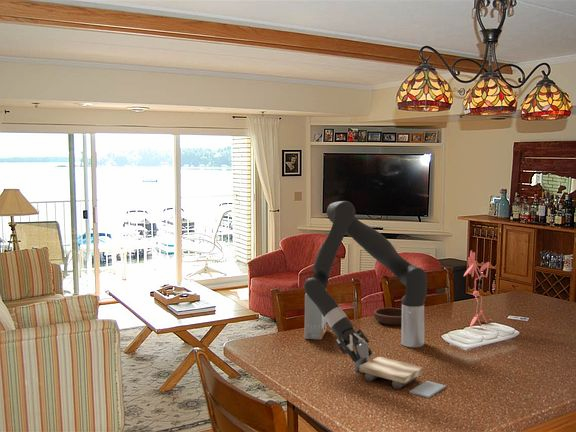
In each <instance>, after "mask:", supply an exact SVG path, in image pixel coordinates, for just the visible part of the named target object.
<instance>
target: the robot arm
mask: <svg viewBox="0 0 576 432" xmlns="http://www.w3.org/2000/svg"><path fill="white" fill-rule="evenodd" d="M326 216H327V219H328V220H329V221H330V222H331V224H332V226H331V229H330V230H329V233H328V234H327V236H326V238H325V239H324V241H323V243H322V244H321V246H320V248H319V250H318V252H317V254H316V257H315V259H314V263H313V265H312V266H313V267H312V269H313V273H312V274H313V275H312V277H310V278H307V279H306V280H305V281H304V283H303V289H304V291H305V294H306V293H307V295H308V296H309V297H310V299H311V300H312V301H313V302H314V303H315V304H316V306H317V307H318V308H319V310H320V312H321V313H322V315H323V316H324V317H325V319H326V324H327V325H328V326H329V327H330V329H331V330H332V331H333V333H334V334H335V336H336V338H337V339H336V340H335V343H336V345H337V346H338V348H339V350H340V351H341V353H342V354H343V355H346V354H347V355H348V356H349V357H350V358H351V360H352V361H353V363H355V362H357V361H358V360H359V358H358V356H357V355H356V353H355V350H354V348H353V346H355V343H357V342H366V343H368V344H369V343H370V340H369V339H368V338H367V336H366V335H365V334H364V332H363V331H362V330H361V329H360V328H359V329H357V330H356V331H355V330H354V325H353V323H352V321H351V320H350V319H349V317H348V316H347V314H346V313H345V312H344V310H343V309H342V308H341V307H340V306H339V304H338V302H337V301H336V300H335V298H334V297H333V296H332V295H330V294H329V293H328V291H327V289H328V284H329V278H330V273H331V270H332V267H333V265H334V262H335V259H336V256H337V254H338V251H339V249H340V246H341V244H342V242H343V239H344V238H345V236H346V234H347V235H349V236H350V237H351V238H352V239H353V240H354V242H356V243H357V244H358V245H359V246H360V247H362V248H363V250H365V251H366V252H367V253H368V254H369V255H370V256H371V257H373V258H374V259H375V260H376V261H378V262H379V263H380V264H381V265H382V266H384V267H385V268H387V270H389V271H390V272H391V273H392V274H393V275H394V277H396V278H397V280H398V281H399V282H400V283H401V284H402V285H404V287H405V295H402V297H401V309H402V324H401V333H400V334H401V336H400V337H401V340H400V341H401V345H402V346H404V347H408V348H421V347H424V345H425V301H426V298H427V289H428V277H427V276H428V275H427V273H426V271H425V269H423V268H421V267H419V266H416V265H413V264H412V263H410V262H408V261H407V260H406V259H405V258H403V257H402V256H401V255H400V254H399V253H398V252H397V250H396V248H395V247H394V245H393V244H392V243H391V241H389V240H388V239H387V238H386V237H385V236H384V235H383V234H382V233H381V232H380V231H377V230H376V229H375V228H373V227H371V226H369V225H368V224H365V223H363V222H362V221H361V220H359V219H358V218H357V217H356V209H355V205H353V204H352V202H350V201H348V200H342V201H340V200H339V201H335V202H331V203H330V204H329V205H328V206H327V209H326ZM372 355H373V352H372V350H371V348H370V347H369V357H371V356H372Z"/></svg>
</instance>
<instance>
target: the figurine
mask: <svg viewBox="0 0 576 432" xmlns="http://www.w3.org/2000/svg"><path fill="white" fill-rule="evenodd" d="M467 261H468V262H467V264H468V268H467V270H466V271H465V272H464V274H463V277H466V276H467V275H468V274H469V275H471V278H474V274H475V273H476V275H477V278H474V291H473V293H472V294H473V296H474V297H475V299H476V301H477V305H476V311H475V312H476V313H475V316H473V318H472V320H471V322H470V325H469V327H470V326H471V327H472V326H474V325H475V323H476V321H478V323H479V325H480V327H481V325H482V324H481V321H480V319H479V317H480V316H482V318H483V319H484V322H485V323H486V324H488V321H487V319H486V317H485V315H484V313H483V312H484V310H483V309H481V310H480V311H479V313H478V308H479V300H478V298H477V297H480V300H481V301H480V308H482V307H483V297H482V296H481V295H480V292H479V291H478V290H477V289H476V287H477V280H479V281H480V280H481V278H482V277H484V278H488V274H489V267H490V264H491V263H490V261H487V262H485V263H484V264H483V265H482V266H481V267H480V268H479V266H478V265H477V261H476V252H475V251H474V252H473V250H470V252H469V256H468V258H467ZM484 270H486V274H485V275H484V274H483V273H482V272H483V271H484ZM478 272H479V273H478ZM479 274H480V275H479ZM459 320H461V319H457V320H456V319H455V322H456V321H459ZM489 320H490V321H492V319H491V318H490V319H489ZM455 327H456V328H458V329H459V328H460V327H459V326H457V325H455Z"/></svg>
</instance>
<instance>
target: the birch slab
mask: <svg viewBox="0 0 576 432" xmlns="http://www.w3.org/2000/svg"><path fill="white" fill-rule="evenodd" d="M359 371H360V372H364V373H363V374H364V379H365V380H366V382H372V381H374V380H376V379H378V378H382V379H386V380H389V381H392V382H391V387H392V388H393V389H394V390H399V389H401V388H403V387H405V386H407V385H408V384H410V383H412V382H414V381H415V380H417V378H418V377H419V376H421V375H422V374H424V366H419V365H417V364H416V365H415V364H412V363H407V362H403V361H399V360H395V359H391V358H388V357H383V356H378V357H375V358H373V359H371V360H368V362H366V363H364V364H362V365H360V366H359Z"/></svg>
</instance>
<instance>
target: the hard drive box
mask: <svg viewBox="0 0 576 432" xmlns="http://www.w3.org/2000/svg"><path fill="white" fill-rule="evenodd" d="M326 331H327V321H326V319H325V317H324V316H323V315H322V313H321V312H320V310H319V308H318V307H317V306H316V304H315V303H314V302H313V301H312V300H311V299H310V297H309V296H308V295H307V293H306V292H305V294H304V339H306V340H319V341H320V340H322V339H323V337H324V335H325V333H326Z"/></svg>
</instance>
